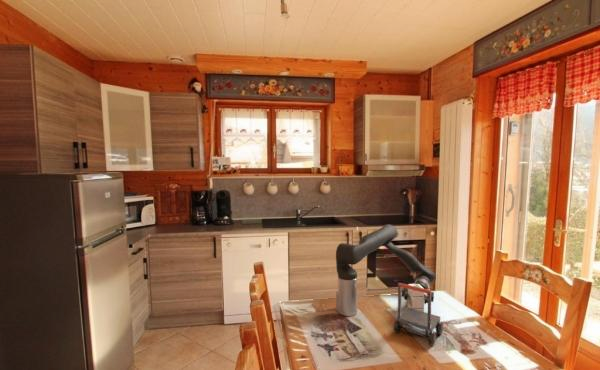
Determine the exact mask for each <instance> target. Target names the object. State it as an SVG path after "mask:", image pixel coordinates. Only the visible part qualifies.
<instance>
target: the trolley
mask: <svg viewBox="0 0 600 370" xmlns="http://www.w3.org/2000/svg"><path fill="white" fill-rule="evenodd" d="M402 288H403V289H404V288H407V289H412V290H416V291H420V292H424V293H428V303H427V312H426V311H424V312H422V311H419V310H415V309H412V308H409V307H408V306H407V307H406V308H405V309H404V310H403V311H402ZM431 292H432V289H429V290H427V289H423V288H419V287H415V286H411V285H408V284H407V283H401V282H398V283H397V316H396V319H395V321H394V323H393V332H394V333H398V334H400V332H401V330H404V331H406V332H410V333H412V334H415V335H418V336H422V337H424V338H427V342H428V345H431V346H434V345H435V343H436V339H437V335H436V334H438V335H442V334H443V331H444V330H443V329H444V322H443V321H441V316H440V315H439V316H438V315H437V314H436V315H435V314H432V302H431ZM405 325H408V326H411V327H414V328H417V329H420V330H423V331H424V333H423V332H420V331H418V330H417V331H416V330H413V329H411V328H408V327H406V326H405ZM434 330H435V331H434Z"/></svg>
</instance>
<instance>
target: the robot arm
mask: <svg viewBox="0 0 600 370" xmlns="http://www.w3.org/2000/svg"><path fill="white" fill-rule="evenodd" d="M397 236H398V229H397V228H396V227H395V226H394V225H393V224H390V223H389V224H384V225H383V226H382V227H380V228H379V229H377V230H374V231H372V232H370V233H367V234H365V235H363V236H362V237H361V238H360V240H359V244H357V245H356V244H349V243H345V242H342V243H339V244H338V245H337V247H336V250H335V264H336V272H337V291H336V292H335V295H336V301H335V303H336V304H335V305H336V306H335V311H336V312H338V314H340V315H342V316H344V317H345V316H347V317H353V316H355V315H357V313H358V272H357V270H356V269H355V268H353V267H352V265H357V264H359V262H361V261H362V260H363V259H364V258H366V257H367V256H368V255H369V254H371V253H372V252H375V251H376V250H378V249H379V248H380V247H382V246H384V247H385V248H386V249H387V250H388V251H389V252H391V253H392V254H393V255H394V256H395V257H397V258H398V259H399V260H400V261H401V262H402V263H403V264H404V265H405V266H406V267H407V269H408V270H409V271H410V272H412V273H416V272H419V271H420V273H419V274H418V275H417V276H415V281H414V283H413V284H420V285H421V286H422V287H423V288H424V289H427V290H430V286H431V284H432V283H433V282H434V281H436V279H437V278H436V277H437V275H436V274H435V272H434V271H433V270H432V269H430V268H429V267H427V266H426V265H424V264H423V263H421V262H420V260H418V259H417V258H416V256H415V255H413V253H411V252H409V251H408V250H406V249H403V248H400V247H398V246H396V245H395V244H394V243H393V242H392V241H393V240H394V239H395V238H397ZM401 297H403V299H404V300H406V301H408V288H404V287H403V289H401ZM434 301H435V292H433V291H431V303H433V302H434ZM427 304H428V293H424V305H427Z"/></svg>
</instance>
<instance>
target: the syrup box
mask: <svg viewBox="0 0 600 370" xmlns="http://www.w3.org/2000/svg"><path fill="white" fill-rule="evenodd" d="M407 285H411V286H415V287H419V288H423V287H422V286H421V285H420V284H414V283H408V284H407ZM407 289H408V288H407ZM423 289H424V288H423ZM407 302H408V303H407V305H408V306H407V307H409V308H412V309H415V310H419V311H422V312H425V304H424V292H420V291H416V290H412V289H408V298H407Z"/></svg>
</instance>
